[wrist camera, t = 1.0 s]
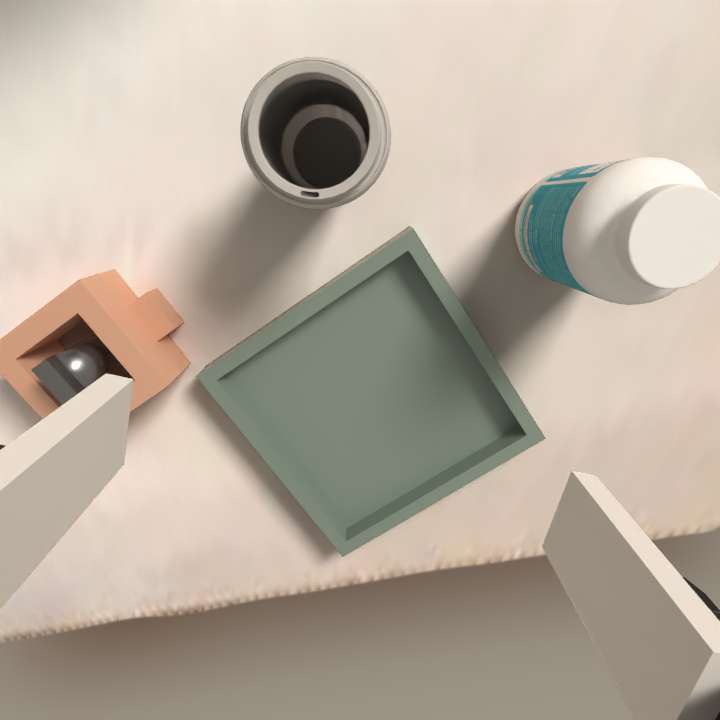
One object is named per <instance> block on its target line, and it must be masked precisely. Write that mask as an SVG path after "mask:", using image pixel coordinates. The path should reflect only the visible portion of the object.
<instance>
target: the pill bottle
mask: <svg viewBox="0 0 720 720" xmlns="http://www.w3.org/2000/svg"><path fill="white" fill-rule="evenodd" d="M515 239H516V243H517V247H518V250H519V252H520V255H521V256H522V258H523V260H524V261H525V262H526V263H527V265H528V266H529V267H530V268H531V269H532V270H534V271H535V272H537V273H538V274H540V275H542V276H544V277H546V278H548V279H551V280H554V281H556V282H559V283H562V284H564V285H567V286H569V287H572V288H575V289H577V290H580V291H582V292H585V293H587V294H590V295H593V296H595V297H598V298H600V299H603V300H606V301H609V302H613V303H617V304H625V305H635V304H643V303H649V302H653V301H656V300H658V299H661V298H663V297H666V296H668V295H670V294H671V293H673V292H675V291H676V290H678V289H679V288H683V287H687V286H689V285H692V284H694V283H696V282H698V281H699V280H701V279H703V278H704V277H705V276H707V275H708V274H709V273H710V272H711V271H712V270H713V269H714V268H715V267H716V266H717V264H718V263H719V262H720V198H719V197H718V196H717V195H716V194H715V193H713V192H712V191H710V190H709V189H707V188H706V186H705V184H704V183H703V182H702V180H701V179H700V178H699V177H698V176H697V175H696V174H695V173H694V172H693V171H691V170H690V169H689V168H687V167H685V166H684V165H682V164H680V163H677V162H675V161H672V160H668V159H664V158H657V157H643V158H635V159H628V160H621V161H616V162H608V163H602V164H596V165H589V166H582V167H575V168H570V169H565V170H561V171H558V172H555V173H553V174H551V175H549V176H547V177H545V178H544V179H542V180H541V181H540V182H538V183H537V184H536V185H535V186H534V187H533V188H532V189H531V190H530V191H529V193H528V194H527V195H526V197H525V198H524V200H523V202H522V203H521V206H520V208H519V211H518V214H517V217H516V222H515Z"/></svg>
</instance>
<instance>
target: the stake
mask: <svg viewBox="0 0 720 720" xmlns="http://www.w3.org/2000/svg"><path fill="white" fill-rule="evenodd" d="M121 365H122V364H121V363H120V362H119V361H118V360H117V358H116V357H115V356H114V355H113V354H112V352H111V351H110V350H109V349H108V348H107V347H106V345H105V344H104V343H103V342H102V341H101V340H100V338H99V337H98V336H97V335H96V334H95V335H93V336H91V337H89V338H87V339H86V340H84V341H82V342H80V343H78V344H76V345H74V346H72V347H70V348H68V349H66V350H64V351H63V352H61V353H59V354H57V355H55V354H54V355H52V356H50V357H48V358H47V359H45V360H44V361H42V362H41V363H39V364H38V365H37V366H35V367H34V368H33V369H31V371H32V372H33V373H34V374H35V375H36V376H37V377H38V378H39V379H40V380H41V382H42V383H43V385H44V386H45V388H46V389H47V390H48V391H49V392H50V393H51V394H53V395H54V396H55V397H56V398H57V399H58V400H59V401H60V403H61V404H62V405H63V404H65V403H66V402H67V401H69V400H70V399H71V398H73V397H74V396H76V395H77V394H78V393H80V392H81V391H82V390H84V389H85V388H87V387H88V386H89V385H91V384H92V383H94V382H95V381H96V380H98V379H99V378H100V377H102V376H103V375H105V374H106V373H107V374H109V373H111V372H112V371H113V370H115V369H116V368H118V367H119V366H121Z"/></svg>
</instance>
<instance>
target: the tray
mask: <svg viewBox="0 0 720 720" xmlns="http://www.w3.org/2000/svg"><path fill="white" fill-rule="evenodd" d="M197 378H198V380H199V381H200V382H201V383H202V385H203V386H204V387H205V388H206V390H207V391H208V392H209V393H210V394H211V396H212V397H213V398H214V399H215V401H216V402H217V403H218V404H219V406H220V407H221V408H222V409H223V410H224V412H225V413H226V414H227V415H228V417H229V418H230V419H231V420H232V422H233V423H234V424H235V425H236V426H237V428H238V429H239V430H240V431H241V433H242V434H243V435H244V436H245V438H246V439H247V440H248V441H249V442H250V444H251V445H252V446H253V447H254V449H255V450H256V451H257V452H258V454H259V455H260V456H261V457H262V458H263V460H264V461H265V462H266V463H267V465H268V466H269V467H270V468H271V470H272V471H273V472H274V473H275V474H276V476H277V477H278V478H279V479H280V481H281V482H282V483H283V484H284V485H285V487H286V488H287V489H288V490H289V492H290V493H291V494H292V495H293V497H294V498H295V499H296V500H297V501H298V503H299V504H300V505H301V506H302V508H303V509H304V510H305V511H306V513H307V514H308V515H309V516H310V517H311V519H312V520H313V521H314V522H315V524H316V525H317V526H318V527H319V529H320V530H321V531H322V532H323V533H324V535H325V536H326V537H327V538H328V540H329V541H330V542H331V543H332V545H333V546H334V547H335V548H336V549H337V551H338V552H339V553H340V554H341V556H342V557H343V556H345V555H347V554H349V553H350V552H352V551H354V550H355V549H357V548H359V547H361V546H362V545H364V544H366V543H367V542H369V541H371V540H373V539H374V538H376V537H378V536H379V535H381V534H383V533H385V532H386V531H388V530H390V529H391V528H393V527H395V526H397V525H398V524H400V523H402V522H403V521H405V520H407V519H408V518H410V517H412V516H414V515H415V514H417V513H419V512H420V511H422V510H424V509H426V508H427V507H429V506H431V505H432V504H434V503H436V502H438V501H439V500H441V499H443V498H444V497H446V496H448V495H450V494H451V493H453V492H455V491H456V490H458V489H460V488H462V487H463V486H465V485H467V484H468V483H470V482H472V481H474V480H475V479H477V478H479V477H480V476H482V475H484V474H486V473H487V472H489V471H491V470H492V469H494V468H496V467H498V466H499V465H501V464H503V463H504V462H506V461H508V460H510V459H511V458H513V457H515V456H516V455H518V454H520V453H522V452H523V451H525V450H527V449H528V448H530V447H532V446H534V445H535V444H537V443H539V442H540V441H542V440H544V439H546V438H545V437H544V435H543V433H542V432H541V430H540V429H539V427H538V426H537V424H536V422H535V421H534V419H533V418H532V416H531V414H530V413H529V411H528V410H527V408H526V407H525V405H524V403H523V402H522V400H521V399H520V397H519V395H518V394H517V392H516V391H515V389H514V387H513V386H512V384H511V383H510V381H509V380H508V378H507V376H506V375H505V373H504V372H503V370H502V368H501V367H500V365H499V364H498V362H497V361H496V359H495V357H494V356H493V354H492V353H491V351H490V349H489V348H488V346H487V345H486V343H485V341H484V340H483V338H482V337H481V335H480V334H479V332H478V330H477V329H476V327H475V326H474V324H473V322H472V321H471V319H470V318H469V316H468V315H467V313H466V311H465V310H464V308H463V307H462V305H461V303H460V302H459V300H458V299H457V297H456V295H455V294H454V292H453V291H452V289H451V288H450V286H449V284H448V283H447V281H446V280H445V278H444V276H443V275H442V273H441V272H440V270H439V269H438V267H437V265H436V264H435V262H434V261H433V259H432V257H431V256H430V254H429V253H428V251H427V249H426V248H425V246H424V245H423V243H422V242H421V240H420V238H419V237H418V235H417V234H416V232H415V230H414V229H413V228H412V227H410V226H409V227H408V228H406V229H405V230H403V231H402V232H400V233H399V234H398V235H396V236H395V237H393V238H392V239H390V240H389V241H387V242H386V243H384V244H383V245H382V246H380V247H379V248H377V249H376V250H374V251H373V252H371V253H370V254H368V255H367V256H365V257H364V258H363V259H361V260H360V261H358V262H357V263H355V264H354V265H352V266H351V267H349V268H348V269H347V270H345V271H344V272H342V273H341V274H339V275H338V276H336V277H335V278H333V279H332V280H331V281H329V282H328V283H326V284H325V285H323V286H322V287H320V288H319V289H317V290H316V291H314V292H313V293H312V294H310V295H309V296H307V297H306V298H304V299H303V300H301V301H300V302H298V303H297V304H296V305H294V306H293V307H291V308H290V309H288V310H287V311H285V312H284V313H282V314H281V315H280V316H278V317H277V318H275V319H274V320H272V321H271V322H269V323H268V324H266V325H265V326H264V327H262V328H261V329H259V330H258V331H256V332H255V333H253V334H252V335H250V336H249V337H247V338H246V339H245V340H243V341H242V342H240V343H239V344H237V345H236V346H234V347H233V348H231V349H230V350H229V351H227V352H226V353H224V354H223V355H221V356H220V357H218V358H217V359H215V360H214V361H213V362H211V363H210V364H208V365H207V366H205V368H204V369H203V370H202V371H201V372H200V373H199V374H198V375H197Z"/></svg>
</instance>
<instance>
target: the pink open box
mask: <svg viewBox="0 0 720 720" xmlns="http://www.w3.org/2000/svg"><path fill="white" fill-rule="evenodd" d="M83 320H84V321H85V322H86V323H87V324H88V325H89V327H90V328H91V329H92V330H93V331H94V332H95V334H96V335H97V336H98V337H99V338H100V340H101V341H102V342H103V343H104V344H105V345H106V347H107V348H108V349H109V350H110V351H111V352H112V354H113V355H114V356H115V357H116V358H117V360H118V361H119V362H120V363H121V364H122V365H123V367H124V368H125V369H126V370H127V371H128V372H129V374H130V375H131V376H132V377H133V388H132V397H131V406H130V412H131V411H132V410H134V409H135V408H137V407H138V406H140V405H141V404H143V403H144V402H145V401H147V400H148V399H150V398H151V397H153V396H154V395H156V394H157V393H159V392H160V391H161V390H163V389H164V388H166V387H167V386H168V385H169V384H170V383H171V382H172V381H173V380H174V379H175V378H176V377H177V376H178V375H179V374H180V373H181V372H182V371H183V370H184V369H185V368H186V367H188V366H189V365H190V364H191V363H190V362H189V361H188V359H187V358H186V357H185V356H184V355H183V353H182V352H181V351H180V350H179V348H178V347H177V346H176V345H175V343H174V342H173V341H172V340H171V338H170V337H169V336H168V335H167V334H168V333H170V332H171V331H172V330H174V329H175V328H177V327H178V326H179V325H181V324H182V323H184V321H183V320H182V319H181V318H180V316H179V315H178V314H177V313H176V311H175V310H174V309H173V308H172V306H171V305H170V304H169V303H168V301H167V300H166V299H165V298H164V296H163V295H162V294H161V293H160V291H159V290H158V289H157V288H156V289H154V290H152V291H150V292H147V293H146V294H144V295H143V296H142V297H140V298H139V299H138V298H137V296H136V295H135V294H134V293H133V291H132V290H131V289H130V288H129V287H128V285H127V284H126V283H125V282H124V280H123V279H122V278H121V277H120V275H119V274H118V273H117V272H116V270H115V269H114V270H110V271H107V272H104V273H100V274H97V275H93V276H90V277H87V278H83V279H80V280H78V281H77V282H75V283H74V284H73V285H71V286H70V287H69V288H68V289H66V290H65V291H64V292H62V293H61V294H60V295H58V296H57V297H56V298H54V299H53V300H52V301H50V302H49V303H48V304H46V305H45V306H44V307H42V308H41V309H40V310H38V311H37V312H36V313H34V314H33V315H32V316H30V317H29V318H28V319H26V320H25V321H24V322H23V323H21V324H20V325H19V326H17V327H16V328H15V329H13V330H12V331H11V332H9V333H8V334H7V335H5V336H4V337H3V338H1V339H0V374H1V375H2V376H3V377H4V378H5V379H6V381H7V382H8V383H9V384H10V385H11V386H12V387H13V388H14V389H15V390H16V391H17V392H18V393H19V395H20V396H21V397H22V398H23V399H24V400H25V401H26V402H27V403H28V404H29V405H30V406H31V408H32V409H33V410H34V411H35V412H36V413H37V414H38V415H39V416H40V417H41V418H42V419H44V418H45V417H47V416H48V415H49V414H51V413H52V412H53V411H55V410H56V409H58V408H59V407H60V406H62V404H61V403H60V401H59V400H58V399H57V398H56V397H55V396H54V395H53V394H51V393H50V392H49V391H48V390H47V389H46V388H45V386H44V385H43V383H42V382H41V380H40V379H39V378H38V377H37V376H36V375H35V374H34V373H33V372H32V371H31V369H33V368H34V367H35V366H37V365H38V364H39V363H41V362H42V361H44V360H45V359H47V358H48V357H50V356H52V355H54V354H55V355H57V354H59V353H61V352H63V351H64V350H66V349H65V348H64V347H63V346H62V345H61V343H60V342H59V341H58V340H57V339H59V338H60V337H61V336H63V335H64V334H66V333H67V332H68V331H70V330H71V329H72V328H74V327H75V326H76V325H78V324H79V323H80V322H82V321H83Z"/></svg>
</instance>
